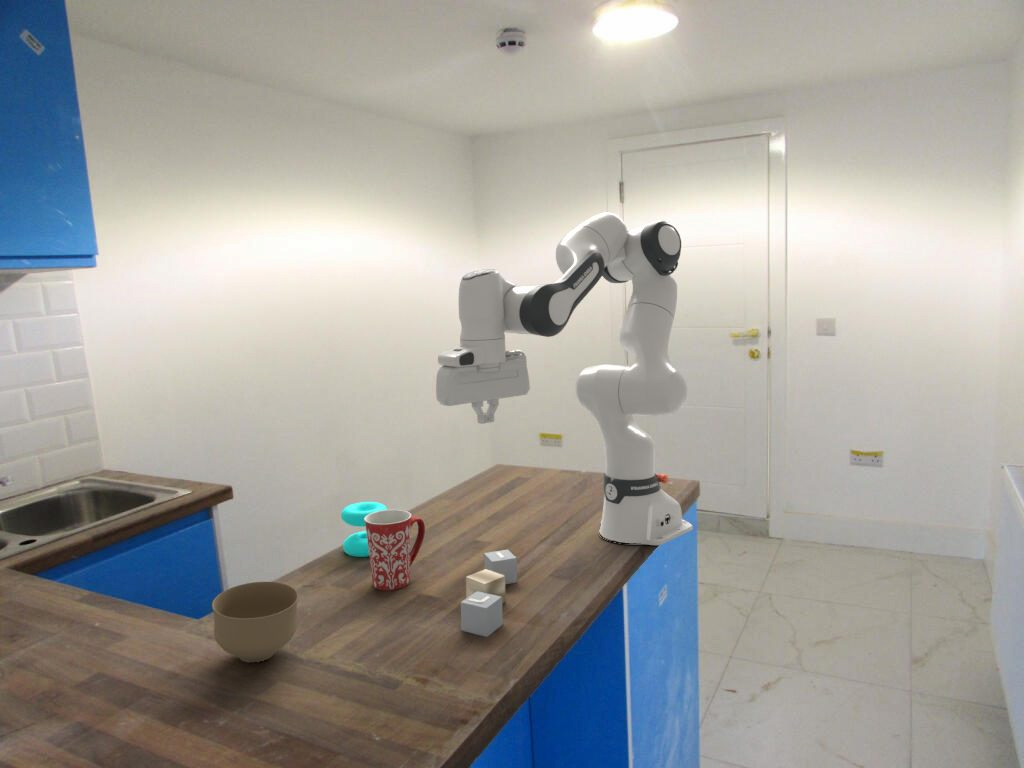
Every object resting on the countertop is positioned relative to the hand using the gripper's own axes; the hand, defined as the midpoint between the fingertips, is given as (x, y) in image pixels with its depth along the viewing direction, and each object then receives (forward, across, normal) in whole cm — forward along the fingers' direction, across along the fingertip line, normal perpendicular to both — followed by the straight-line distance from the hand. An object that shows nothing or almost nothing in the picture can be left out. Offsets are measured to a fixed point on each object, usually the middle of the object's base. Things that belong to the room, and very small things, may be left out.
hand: (486, 422), depth 144 cm
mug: (+30, +18, -6) cm, 36 cm away
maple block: (+30, +10, +13) cm, 34 cm away
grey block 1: (+30, +16, +21) cm, 40 cm away
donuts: (+30, +16, -26) cm, 43 cm away
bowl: (+29, +49, +8) cm, 58 cm away
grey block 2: (+30, +2, +6) cm, 31 cm away
